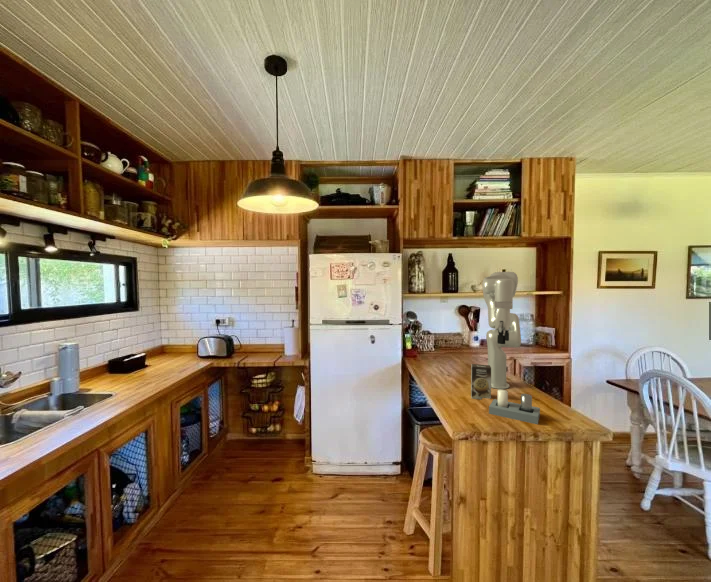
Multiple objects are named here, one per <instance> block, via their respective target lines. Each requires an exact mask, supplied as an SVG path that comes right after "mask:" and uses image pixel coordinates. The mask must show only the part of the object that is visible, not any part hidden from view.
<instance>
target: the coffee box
mask: <svg viewBox="0 0 711 582" xmlns="http://www.w3.org/2000/svg"><path fill="white" fill-rule="evenodd" d="M470 365H471V367H470V370H471V374H470V381H471V382H470V398H471V399H475V400H482V399H492V388H491V367H490V365H488V364H477V363H471V364H470Z"/></svg>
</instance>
